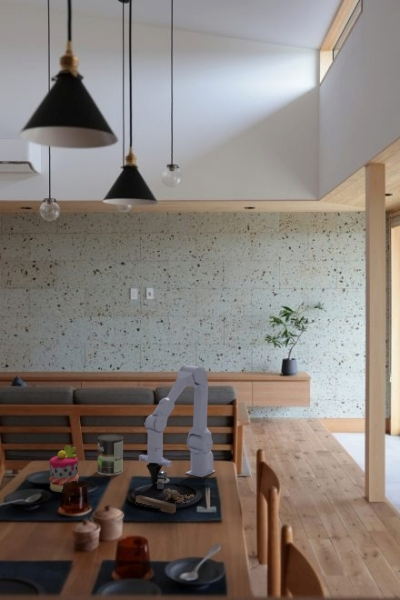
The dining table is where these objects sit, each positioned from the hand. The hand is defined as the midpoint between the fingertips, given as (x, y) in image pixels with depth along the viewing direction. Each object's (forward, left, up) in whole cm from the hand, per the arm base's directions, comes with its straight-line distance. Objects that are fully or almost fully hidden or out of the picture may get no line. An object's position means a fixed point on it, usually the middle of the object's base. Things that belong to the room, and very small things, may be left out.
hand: (154, 482), depth 250 cm
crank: (-2, +2, 0) cm, 2 cm away
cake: (+22, -25, -1) cm, 34 cm away
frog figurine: (+7, +16, -2) cm, 18 cm away
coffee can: (-3, -25, -1) cm, 26 cm away
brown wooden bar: (+18, +16, -1) cm, 24 cm away
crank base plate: (-6, -1, -1) cm, 6 cm away
